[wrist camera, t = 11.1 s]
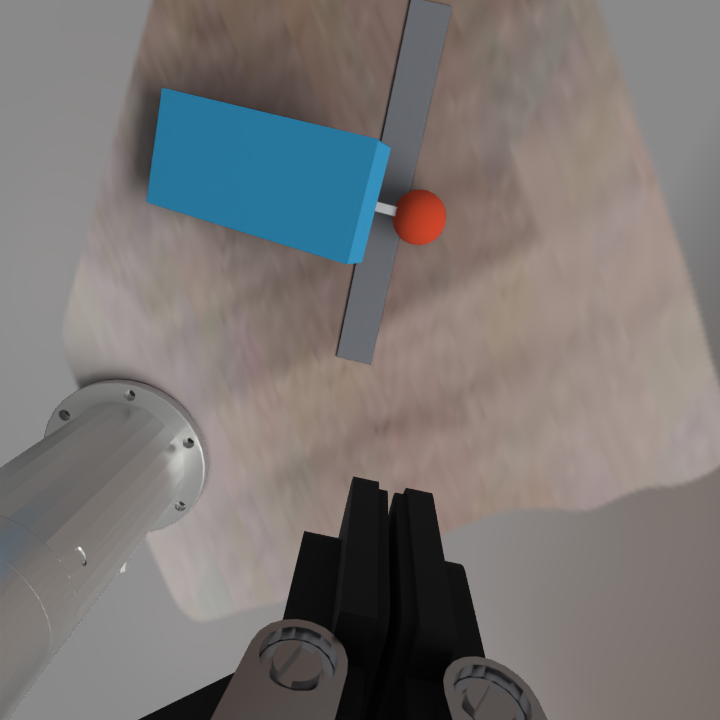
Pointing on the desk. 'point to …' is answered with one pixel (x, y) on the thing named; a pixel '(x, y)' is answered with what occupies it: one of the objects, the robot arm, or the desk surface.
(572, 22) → the desk surface
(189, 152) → the lever
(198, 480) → the robot arm
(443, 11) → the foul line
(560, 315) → the desk surface
